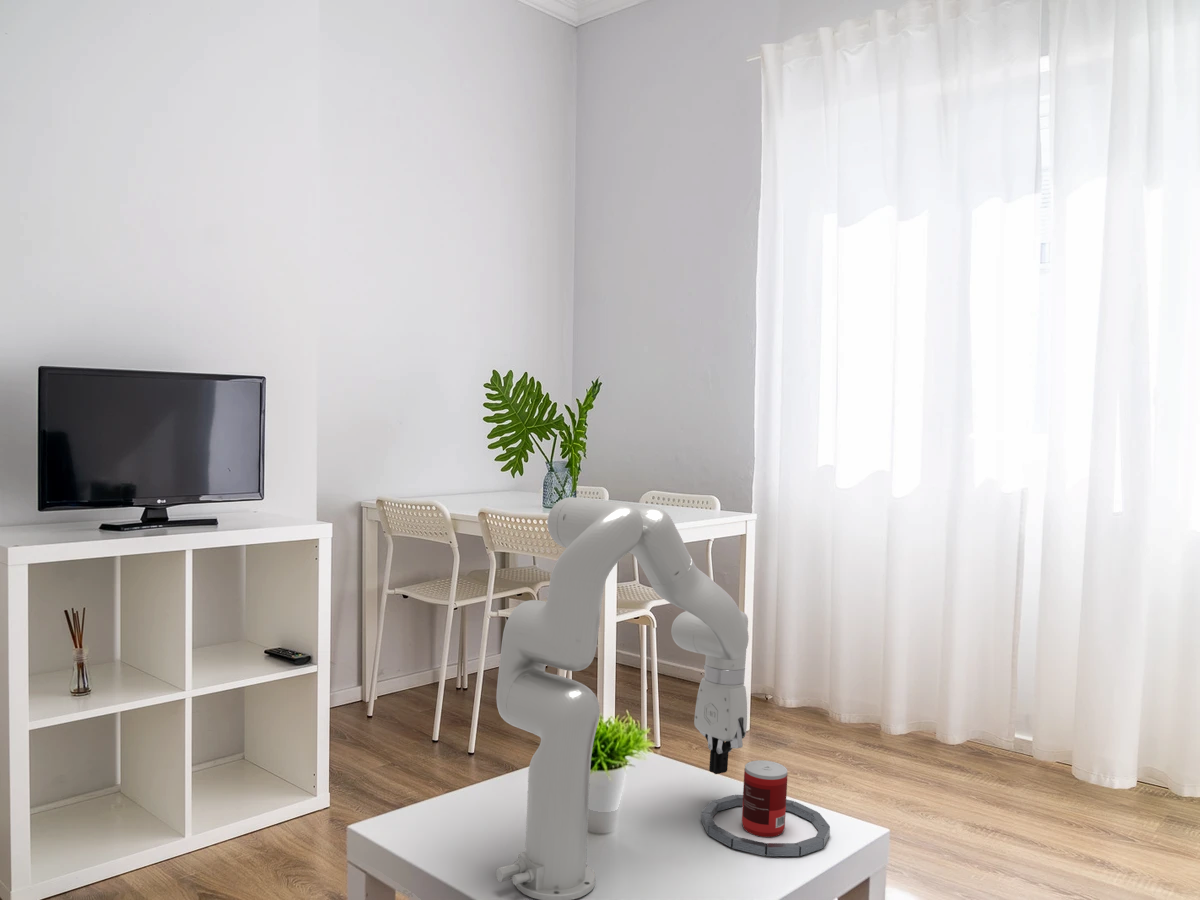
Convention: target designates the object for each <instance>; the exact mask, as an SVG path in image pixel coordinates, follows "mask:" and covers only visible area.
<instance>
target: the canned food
mask: <svg viewBox="0 0 1200 900" xmlns="http://www.w3.org/2000/svg"><path fill="white" fill-rule="evenodd" d="M743 772H744V773H743V788H742V789H743V790H742V791H743V793H742V795H743V806H742V809H741V811H742V813H741V822H742V823H741V824H742V826H743V829H744V830H745V831H746V832H747V833H749V834H751V835H753V836H757V837H760V838H761V837H762V838H775V837H778V836H780V835H781V834H782V833H783V832H784V829H785V826H786V813H787V811H786V799H787V795H788V794H787V793H788V791H787V789H788V775H789V774H788V769H787V767H786V766H784V765H783V764H781V763H778V762H775V761H771V760H765V759H764V760H762V759H761V760H758V759H757V760H751V761H749V762H747V763H745V765H744V771H743Z"/></svg>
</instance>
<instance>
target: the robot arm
mask: <svg viewBox="0 0 1200 900" xmlns="http://www.w3.org/2000/svg"><path fill="white" fill-rule="evenodd" d="M546 524H547V525H546V526H547V530H548V533H549V534H548V535H550V537H551V539H552V540H553V542H555V543H556V544H557V545H558V546H560V547H562V548H565V549H564V550H563V551H562V553H561V554H560V555H559V557H558V558H557V560H556V562H555V564H554V566H553V568H552V571H551V573H550V578H549V584H548V590H547V597H546V601H545V600H539V599H531V600H529V599H528V600H526V601H523V602H521V603H520V604H518V605H516V606H515V608H514V609H513V610H512V611H511V613H510V614H509V616H508V617H507V619H506V623H505V625H504V628H503V633H502V639H501V640H502V641H501V646H500V647H501V648H500V657H499V664H498V665H499V667H498V673H497V684H496V696H495V698H496V699H495V700H496V707H497V710H498V713H499V716H500V717H501V719H502V720H503V721H504V722H506V723H507V724H509V725H510V726H513V727H515V728H517V729H520V730H522V731H525V732H528V733H531V734H533V735H534V736H537V737H539V738H540V744H539V746H538V747H537V749H536V751H535V752H534V753H533V755H532V757H531V759H530V762H529V766H528V777H527V800H526V801H527V804H526V805H527V806H526V821H525V823H526V824H525V845H524V846H525V847H524V848H525V849H524V850H525V851H522V852H519V853H518V860H516V861H514V862H513V864H511V865H509V864H508V865H504V866H501V867H498V868H496V870H495V875H496V879H497V880H498V882H500V883H501V882H504V881H508V880H510V879H511V881H512V884H513V885H514V886H515V888H517V889H518V891H519V892H521V893H522V894H523V895H525V896H527V897H529V898H532V899H535V900H575V899H577V900H578V899H580V898H582V897H585V895H587V894H589V893H590V892H591V891H592V890H593V889H594V888H595V885H596V874H595V871H594V870H593V868H591V867H590V865H588V864H587V850H588V849H587V846H588V830H589V829H588V825H589V824H588V823H589V807H590V804H589V803H590V785H591V784H590V779H591V765H592V754H593V748H594V747H593V746H594V743H595V742H594V741H595V737H596V732H597V728H598V725H599V721H600V720H599V719H600V710H601V707H600V703H599V700H598V697H597V695H596V694H595V693H594V692H593V690H592V689H591V688H589V687H588V686H587V685H585V684H584V683H582V682H579V681H577V680H575V679H571V678H568V677H565V676H562V675H559V674H555V673H554V674H553V673H549V672H547V671H546V666H548V667H552V668H556V669H560V670H564V671H571V672H579V671H582V670H585V669H586V668H588V667H589V666H590V665H592V664H591V663H592V662H593V661H594V658H595V655H596V651H597V646H598V637H599V632H600V631H599V630H600V619H601V611H602V602H603V597H604V595H603V594H604V589H605V584H606V581H607V579H608V577H609V574H610V573H611V572H612V570H613V569H614V567H615V566H616V565H617V564H618V562H619V561H621V560H622V559H623V558H624V556H626V555H627V554H628V553H629V554H631V555H633V556H634V557H635V560H637V563H638V564H639V566H640V568H641V569H642V571H643V574H644V575H645V576H646V579H647V580H648V582H649V584H650V586H651V588H652V590H653V591H654V592H655V594H657V596H659V597H660V598H662V599H664V600H665V601H666V602H668V603H670V604H671V605H673V606H675V607H677V608H679V609H682V610H683V612H681V613H680V614H678V615H677V616H676V617H675V619H674V620H673V621H672V625H671V629H670V632H671V637H672V640H673V642H674V643H675V644H676V645H677V646H678V647H679V648H681V650H682V649H683V650H685V651H688V652H692V653H696V654H701V655H704V656H705V661H704V664H703V669H704V677H702V678H701V681H700V683H699V688H698V691H697V696H696V701H695V708H694V709H695V711H694V718H693V719H694V723H693V725H694V728H696V729H697V730H698V732H699V733H700V734H701V735H702V736H703V737H704V738H705V739H706V741H707V748H708V749H709V750H710V752H709V753H710V754H709V767H708V769H709V770H708V771H709V772H710V773H713V774H715V775H719V774H725V773H727V772H728V764H729V753H731V752H732V751H733V749H741V748H743V739H744V738H745V737H746V733H747V727H748V726H747V725H748V701H747V700H748V697H747V688H746V686H745V677H746V676H745V674H746V662H747V661H746V659H747V649H748V644H749V637H750V636H749V630H748V629H749V618H748V615H747V614H746V613H745V612H744V611H742V610H740V608H739V605H737V602H736V601H735V600H734V598H732V596H731V595H730V594H729V593H728V592H727V591H726V590H725V589H724V588H723V587H722V586H720V585H719V584H718V583H716V582H715V581H714V580H713V579H712V578H711V577H709V576H708V575H707V574H706V573H704V572H703V571H702V570H701V569H699V568H698V567H697V566H696V564H695V562H694V560H693V558H692V556H691V555H690V552H689V550H688V549H687V546H686V544H685V543H684V540H683V539H682V537H681V535H680V533H679V530H678V529H677V527H676V525H675V522H674V521H673V519H672V517H671V516H670V515H669V513H668V512H666V511H665V510H664V509H663V508H659V507H656V506H652V505H645V504H644V505H643V504H636V503H627V502H618V501H610V500H609V501H608V500H602V499H601V500H600V499H591V498H584V497H582V498H580V497H572V496H570V497H565V498H562V499H560V500H559V501H557V502H556V503H555V504H553V506H552V508H551V509H550V511H549V514H548V517H547V523H546Z"/></svg>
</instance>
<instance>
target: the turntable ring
mask: <svg viewBox="0 0 1200 900" xmlns="http://www.w3.org/2000/svg"><path fill="white" fill-rule="evenodd" d="M738 806H739V807H741V806H742V807H743V794H733V795H727V796H724V797H719V798H717V799H713V800H710V802H709V803H708V804H707V805H706V806H705V808H703V810H702V811H701V815H700V816H701V818H700V821H701V823H702V825H703V827H704V830H705V832H706V833H707V835H708V836H709V837H711V838H713V839H715V840H716V841H718V842H720V843H722V844H724V845H726V846H727V847H729V848H732V849H734V850H738V851H742V852H746V853H750V854H755V855H760V856H765V857H801V856H804V855H808V854H810V853H813V852H816V851H819V850H821V849H823V848H825V846H826V843H827V841H828V840H829V837H830V832H831V826H830V824H829V823H828V822H827V820H825V818H824V817H823V816H822V814H821V813H819V812H818V811H817V810H814V809H812V808H811V807H808V806H806V805H804V804H801V803H800V802H797V801H795V800H790V799H787V798H786V812H790V813H793V814H795V815H796V816H799V817H801V818H803V819H805V820H807V821H809V822H811V823H812V824H813V826H814V827H815V828H816V830H817V833H816V834H815V836H813V837H809V838H807V839H804V840H801V841H798V842H789V843H788V842H784V843H783V842H775V843H774V842H771V843H769V842H768V843H767V842H762V841H759V840H753V839H751V838H750V839H748V838H745V837H740V836H736V835H735V834H733V833H732V832H729V831H727V830H726V829H723V827H720V826H718V825H717V824H716V822H715V819H714V817H715V815H717V813H718V812H721V811H723V810H727V809H730V808H735V807H738Z"/></svg>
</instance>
